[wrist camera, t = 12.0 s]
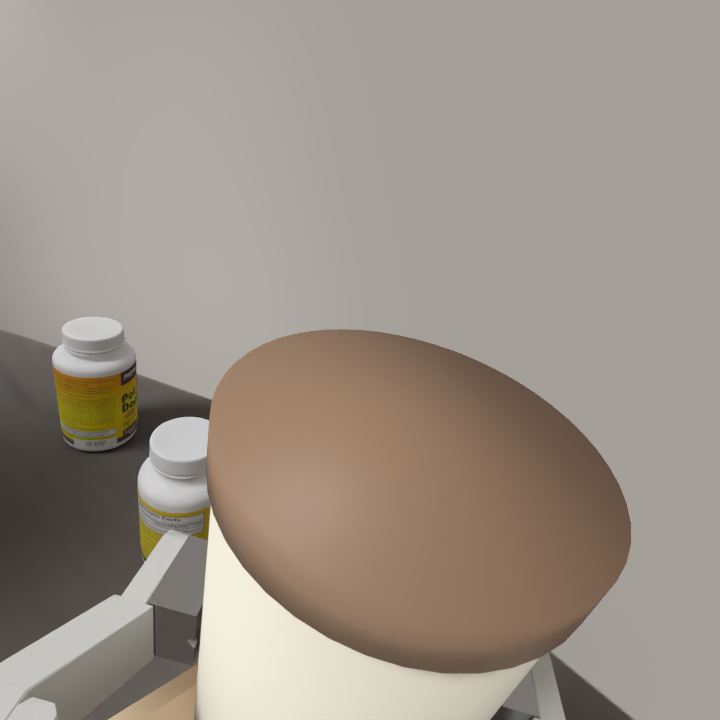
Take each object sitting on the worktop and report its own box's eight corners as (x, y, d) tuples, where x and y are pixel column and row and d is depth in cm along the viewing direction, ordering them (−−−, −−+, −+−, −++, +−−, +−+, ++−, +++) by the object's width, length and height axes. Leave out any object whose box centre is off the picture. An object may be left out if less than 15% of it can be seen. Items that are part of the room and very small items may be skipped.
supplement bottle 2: (193, 501, 32) (199, 399, 28) (241, 545, 30) (255, 441, 25) (123, 545, 28) (116, 432, 23) (172, 600, 26) (175, 486, 21)
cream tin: (248, 1035, 8) (440, 822, 2) (152, 723, 12) (145, 353, 6) (440, 788, 12) (686, 485, 6) (322, 610, 15) (413, 318, 10)
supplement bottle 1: (133, 453, 35) (129, 347, 30) (53, 456, 33) (36, 343, 28) (142, 412, 39) (139, 314, 35) (72, 413, 37) (60, 309, 33)
